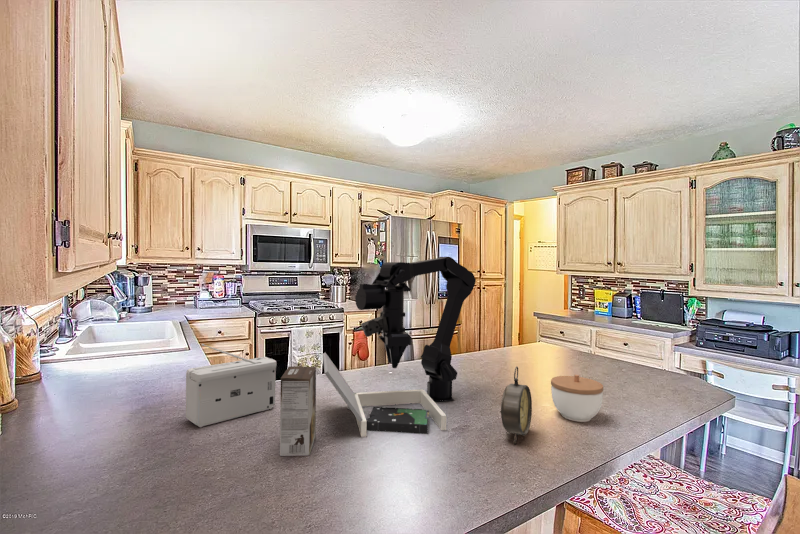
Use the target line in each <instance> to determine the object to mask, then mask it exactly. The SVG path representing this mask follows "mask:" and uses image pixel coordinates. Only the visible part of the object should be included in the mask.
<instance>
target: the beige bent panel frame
mask: <svg viewBox="0 0 800 534" xmlns="http://www.w3.org/2000/svg"><path fill="white" fill-rule="evenodd" d="M322 358H323V359H322V360H323V369H324V371H323V372H324V375H325V376H326V377H327V379H328V380H329V381H330V383H331V384H332V386H333V387H334V389H335V390H336V391H337V394H339V395H340V397H341V398H342V399H343V401H344V402H345V404H346V408H347V410H350V411H351V412H352V413H353V414H354V416H355V420H356V423H357V427H358V431H359V434H360V437H361V438H366V437H367V430H366V427H367V419H366V415H365V413H364V409H363V407H381V406H391V405H392V406H395V404H396V405H407V404H409V405H410V403H412V404H420V405H421V404H422V405H421V406H422V408H423V410H429V417H431V418H432V420H433V422H434V423H435V424H436V426H437V427H438V428H439V429H440V431H447V415H446V413H445V412H444V411H443V410H442V409H441V407H439V405H438V404H437V403H436V402H434V401H433V400H432V399H431V397H430V396H429V395H428V394H427V391H426V390H425V389H421V388H420V389H405V390H404V389H403V390H385V391H365V392H354V390H353V389H352V387H351V386H350V385H349V383H348V382H347V381H346V379H345V377H344V376H343V375H342V374H341V372H340V371H339V369H338V368H337V366H336V365H335V364H334V363H333V361H332V360H331V358H330V357H329V355H328V354H327V353H326V352H324V353H322Z"/></svg>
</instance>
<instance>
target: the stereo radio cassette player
mask: <svg viewBox="0 0 800 534" xmlns="http://www.w3.org/2000/svg"><path fill="white" fill-rule="evenodd" d="M201 346H203V347H206V348H209V349H212V350H215V351H217V352H219V353H223V354H226V355H228V356H231V357H233V358H236V359H240V360H235V361H230V362H223V363H216V364H211V365H204V366H197V367H193V368H191V367H190V368H188V369H187V370H186V372H185V418H186V419H187V420H188V421H190V422H191V423H193V424H194V425H195V426H197V427H199V428H203V427H205V426H209V425H210V426H211V425H212V424H216V423H220V422H225V421H229V420H232V419H237V418H241V417H244V416H248V415H252V414H255V413H260V412H263V411H267V410H269V409H270V410H271V409H273V407H274V405H275V404H276V377H277V376H276V374H277V373H276V371H277V364H278V363H277V360H275V359H273V358H270V357H267V356H262V357H255V358H249V359H248V358H244V357H242V356H239V355H236V354H233V353H230V352H227V351H225V350H221V349H217V348H216V347H211V346H208V345H206V344H204V343H201Z"/></svg>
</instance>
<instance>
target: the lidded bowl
mask: <svg viewBox="0 0 800 534" xmlns="http://www.w3.org/2000/svg"><path fill="white" fill-rule="evenodd" d="M550 385H551V398H552V402H553V404H554V408H556V410H557V411H558V412H559V413H560V415H561V417H562V418H565V419H566V420H569V421H573V422H578V423H588V422H590V421H591V420H592V418H595V417H596V415H598V413H599V412H600V410H601V407H602V404H603V398H604V397H603V396H604V395H603V394H604V393H603V392H604V385H603V384H602V383H601V382H599V381H597V380H595V379H591V378H586V377H583V376H580V374H573V375H559V376H554V377H552V378H551V379H550Z"/></svg>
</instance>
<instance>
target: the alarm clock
mask: <svg viewBox="0 0 800 534" xmlns="http://www.w3.org/2000/svg"><path fill="white" fill-rule="evenodd" d="M513 373H514V374H513V381H514V383H509V384H508V385H506V387H505V388H504V390H503V392H502V396H501V403H500V418H501V423H502V426H503V429H504V430H505V431H506V432H505V433H506V434H507V433H510V434H513V442H512V443H513V445H516V444H517V439H518V435H519V436H526V435H527V434H528V432H529V431H530V428H531V423H532V417H533V416H532V415H533V413H532V412H533V400H532V394H531V390H530V388H529V386H528V385H527V384H519V378H518V377H519V367H518V366H517V365H516V366H515V368H514V372H513Z"/></svg>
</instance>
